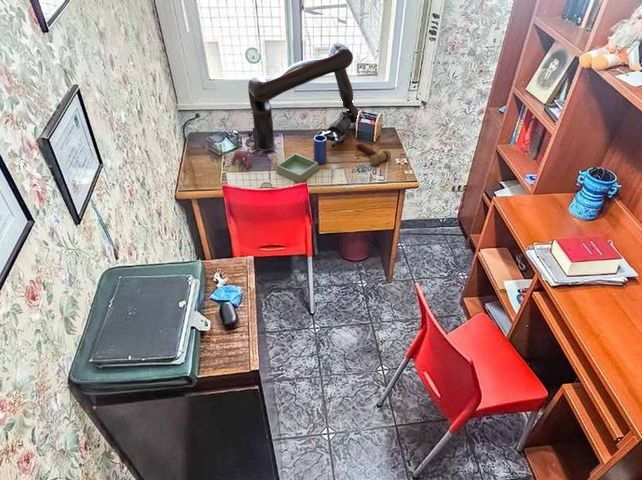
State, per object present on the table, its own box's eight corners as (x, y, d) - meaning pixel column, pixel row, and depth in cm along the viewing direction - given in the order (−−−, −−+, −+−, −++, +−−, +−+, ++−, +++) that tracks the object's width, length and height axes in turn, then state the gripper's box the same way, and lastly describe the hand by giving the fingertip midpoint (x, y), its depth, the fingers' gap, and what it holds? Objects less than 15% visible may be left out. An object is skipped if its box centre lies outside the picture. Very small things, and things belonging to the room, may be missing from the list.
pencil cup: (311, 161, 228) (311, 138, 219) (318, 156, 231) (318, 133, 222) (321, 165, 226) (321, 142, 217) (328, 160, 229) (329, 137, 220)
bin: (276, 173, 220) (276, 165, 217) (295, 160, 228) (294, 153, 225) (300, 183, 215) (299, 175, 212) (318, 170, 223) (318, 162, 220)
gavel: (348, 142, 235) (363, 136, 239) (348, 151, 238) (363, 145, 242) (375, 158, 223) (391, 151, 227) (375, 166, 226) (390, 160, 230)
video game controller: (252, 168, 225) (254, 153, 222) (247, 168, 221) (249, 153, 218) (235, 163, 227) (237, 148, 225) (230, 163, 223) (231, 148, 221)
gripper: (325, 119, 235) (311, 133, 225) (351, 125, 232) (337, 140, 222) (325, 133, 241) (311, 147, 231) (350, 139, 238) (337, 154, 228)
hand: (324, 144), depth 227 cm, fingers open, 8 cm apart
